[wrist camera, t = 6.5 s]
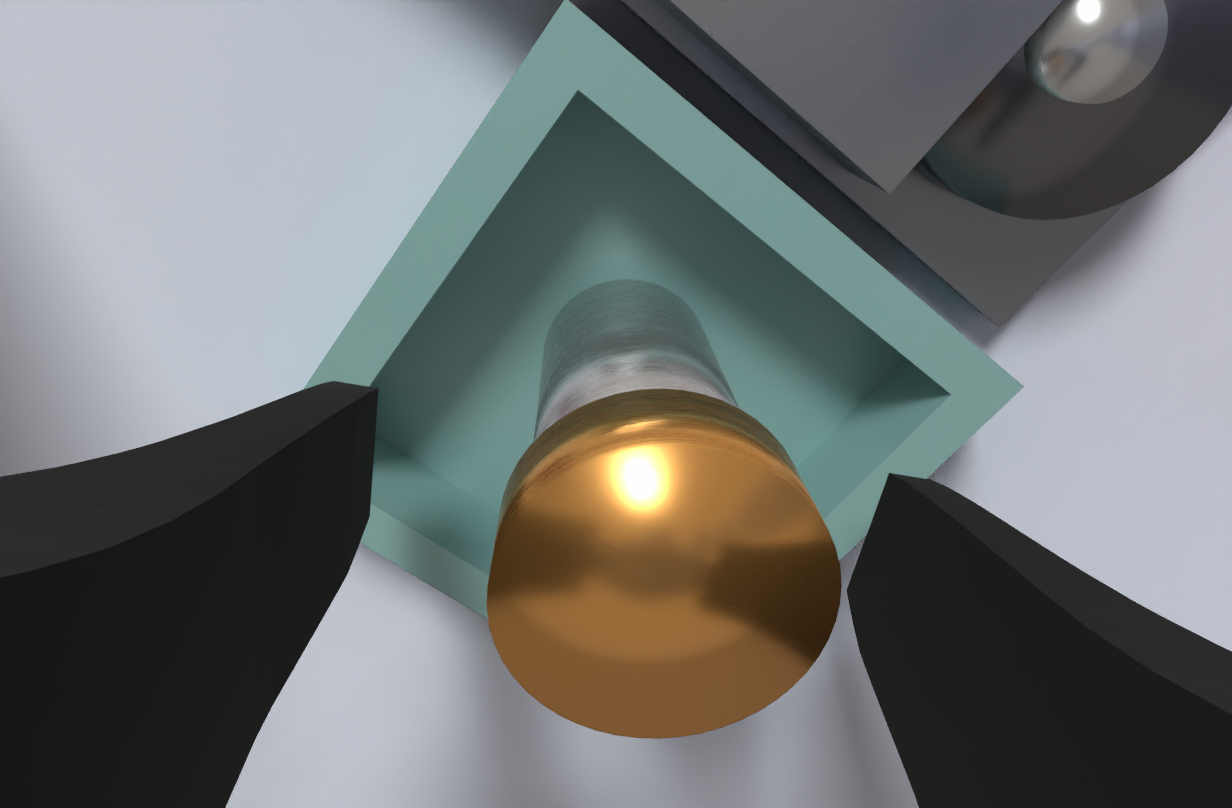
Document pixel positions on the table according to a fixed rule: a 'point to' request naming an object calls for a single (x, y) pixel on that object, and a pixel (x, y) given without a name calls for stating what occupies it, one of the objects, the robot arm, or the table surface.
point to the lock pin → (654, 532)
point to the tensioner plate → (972, 112)
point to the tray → (641, 250)
